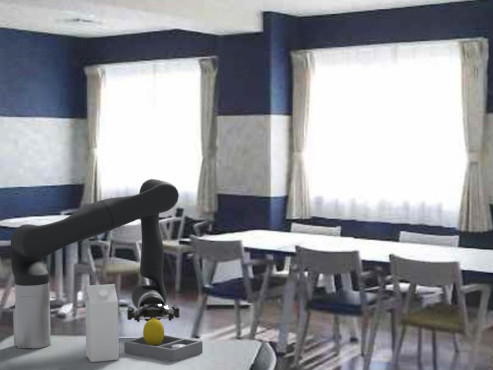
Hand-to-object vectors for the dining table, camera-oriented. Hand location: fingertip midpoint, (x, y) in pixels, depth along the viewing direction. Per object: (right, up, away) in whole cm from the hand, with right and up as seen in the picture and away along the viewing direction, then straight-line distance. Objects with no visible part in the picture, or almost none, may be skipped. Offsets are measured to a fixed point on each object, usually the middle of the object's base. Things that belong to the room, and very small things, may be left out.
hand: (154, 317), depth 223 cm
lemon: (0, -8, -3) cm, 8 cm away
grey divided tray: (+3, -9, -4) cm, 10 cm away
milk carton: (-12, -9, -9) cm, 18 cm away
